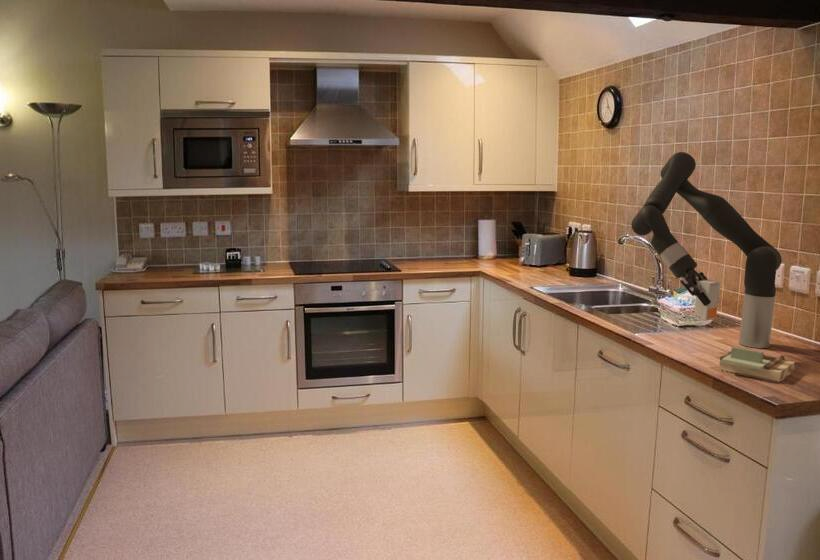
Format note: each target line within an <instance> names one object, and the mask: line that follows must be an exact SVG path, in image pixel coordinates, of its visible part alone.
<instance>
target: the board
mask: <svg viewBox="0 0 820 560" xmlns="http://www.w3.org/2000/svg"><path fill="white" fill-rule="evenodd" d="M730 354H731V350H730V351H729V352H726V353H725V354H723V355H721V356H720V358H719V366H718V370H719V371H721V370H723V371H722V372H726V371H728V372H727V373H730V372H733V373H732V374H735V373H737V374H736V375H741V376H745V377H748V378H749V377H751V378H755V379H759V380H765V381H768V382H772V383H773V382H774V383H778V384H779V383H780V382H782V381H783V380H785V379H786V378H787V377H789V376H790V375H791V374H793V373H794V372H795V369H796V361H795V360H790V359H785V357H786V356H785V355H780V356H778V357H774V356H769V355H764V354H763V359H764V360H769V361H771V363H769V364H768V365H766V367H765V368H763V369H762V370H760V369H755V368H750V367H745V366H740V365H735V364H730V363H726V362H722V359H723V358H724V357H726V356H728V355H730Z"/></svg>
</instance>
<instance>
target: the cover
mask: <svg viewBox="0 0 820 560" xmlns="http://www.w3.org/2000/svg"><path fill="white" fill-rule="evenodd" d="M730 351H731V354H730V355H728V356H726V357H724V358H723V359H722V362H726V363H730V364H735V365H740V366H745V367H750V368H755V369H760V370H762V369H763V368H765V367H766V365H768V364H769V363H771V361H769V360H764V359H763V355H764V351H759V350H755V349H749V348H744V347H739V346H732V347H731V350H730Z"/></svg>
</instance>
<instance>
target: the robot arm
mask: <svg viewBox="0 0 820 560" xmlns="http://www.w3.org/2000/svg"><path fill="white" fill-rule="evenodd" d="M696 166H697V163H696V160H695V158H694V157H693V156H692V155H691V154H689V153H688V152H686V151H685V152H684V151H678V152H676V153H674V154H673V155H671V157H669V159H668V160H667V161H666V163H665V164H664V166H663V167H661V170H660V177H661V179H660V181H659V182H658V183H657V184H656V185H655V187H654V189H653V190H652V191H651V192H650V194H649V196H648V197H647V198H646V200H645V203H644V204H643V205H642V206H641V208H640V209H639V211H638V212H637V213H636V214H635V216H634V217H633V218H632V220H631V226H630V227H631V229H632V231H633V233H635V234H636V235H638V236H647V235H649V234H650V233H652V237H651V239H650V245H651V246H652V248H653V249H654V251H656V253H657V254H658V256H659V257H660V259H662V261H663V263H664V264H665V266H666V267H667V268H668V270H670V271H671V273H672V274H673V276H674V277H675V279H680V281H679V282H680V283H681V284H682V286H683V287H684V288H685V289H686V290H687V291H688V293H689V294H690V295H691V296H692V297H693V296H694V297H695V298H696V297H697V296H698V298H699V300H700V301H701V302H702V303H703V305H704V306H707V305H708V304H710V303H711V301H710V300H709V298H708V297H707V296H706V295H705V293H704V292H703V291H702V289H701V284H700V283H699V281H702V280H709V279H708V277H706V275H705V274H704V272H702V271H700V272H698V271H697V270H695V269H696V268H697V267H698V263H697V262H696V260H695V259H694V258H693V257H692V256H691V254H690V253H689V252H688V251H687V249H686V248H685V247H684V246H683V245H681V243H680V242H679V241H678V240H677V238H676V237H675V236H674V235H673V234H672V233H671V231H670V227H669V226H668V223H667V221H666V219H665V217H664V213H665V212H666V210H667V209H668V207H669V206H670V204H671V203H672V200H673V199H674V197H675V195H676V194H678V195H679V196H680V197H681V198H682V199H683V200H685V201H686V202H687V203H688V204H689V205H690V206H691V208H693V209H694V210H695V211H696V213H698V214H699V215H700V216H701V217H702V218H703V220H704V221H705V222H706V223H707V224H708V225H709V226H710V227H711V228H712V229H713V230H714V231H716V232H717V233H718V234H719V235H721V236H722V237H723V238H725V239H727V240H728V241H730V242H732V243H733V244H735V245H736V246H737V248H739V249H740V250H741V252H743V254H744V255H745V256H746V260H745V267H744V268H745V269H744V278H743V279H744V280H743V285H744V294H743V305H742V313H741V320H740V321H741V322H740V330H739V331H740V332H739V339H738V344H739V345H741V346H744V347H749V348H753V349H754V348H755V349H768V348H769V347H770V342H771V337H772V335H771V334H772V329H773V328H772V327H773V319H774V310H775V302H776V295H777V288H776V278H777V277H776V276H777V275H776V274H777V270H778V269H780V267H781V265H782V259H783V258H782V255H781V253H780V252H779V250H778V249H777V248H775V247H774V246H773V245H772V244H770V243H769V242H768V241H767V240H765V238H763V237H762V236H761V235H760V234H758V233H757V232H756V231H755V230H754V229H753V228H752V226H750V223H748V222H747V221H746V220H745V218H744V217H743V216H742V215H741V214H740V213H739V212H738V211H737V210H736V208H734V206H732V205H731V204H730V203H729V202H728V201H727V200H726V199H725V198H724V197H722V196H720V195H719V194H718V195H717V194H713V193H711V192H706V191H703V190H700V189H699V188H697V187H696V186H694V185H693V184H692V183H691V182H690V181H689V178H690V177H691V176H692V175H693V173H694V172H695V170H696ZM702 292H703V293H702ZM718 301H720V298H718Z"/></svg>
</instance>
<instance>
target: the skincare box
mask: <svg viewBox="0 0 820 560" xmlns="http://www.w3.org/2000/svg"><path fill="white" fill-rule="evenodd" d="M699 283H700V284H701V289H702V291H703V292H704V293H705V295H706V296H707V297H708V298H709V300H710V301H711V303H710V304H708V305H707V306H704V305H703V303H702V302H701V301H700V300H699V298H698V296H697V297H696V296H695V302H694V303H695V304H694V311H693V312H694V313H693V319H695V320H700V321H705V322H706V321H712V320H716V319H717V313H718V306H719V305H718V304H719V300H718V298H719V297H720V290H721V289H720V288H721V281H720V280H719V281H718V280H713V279H708V280H702V281H699ZM703 292H702V293H703ZM719 299H720V298H719Z"/></svg>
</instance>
